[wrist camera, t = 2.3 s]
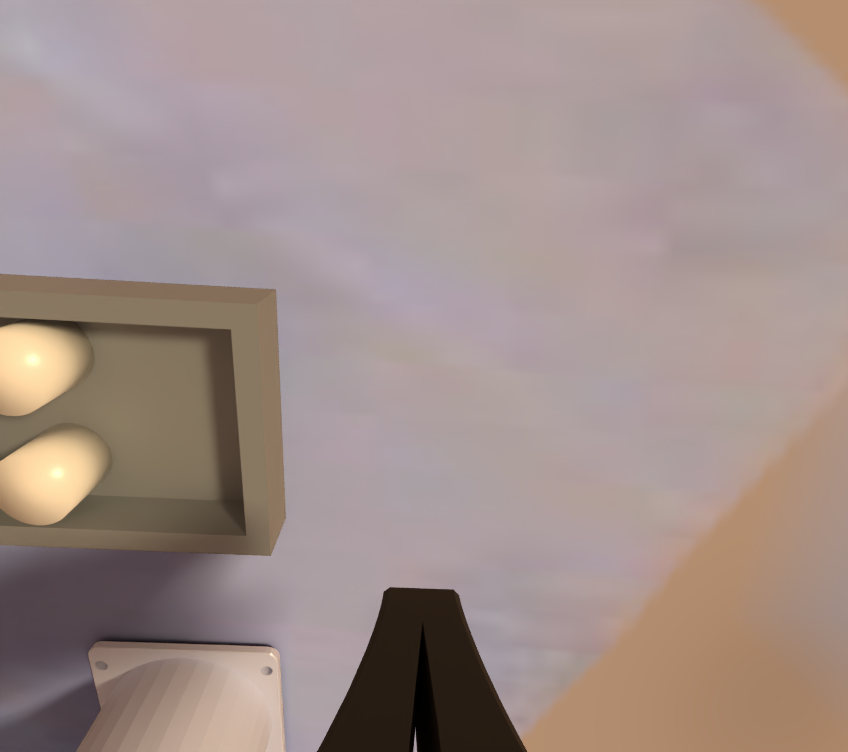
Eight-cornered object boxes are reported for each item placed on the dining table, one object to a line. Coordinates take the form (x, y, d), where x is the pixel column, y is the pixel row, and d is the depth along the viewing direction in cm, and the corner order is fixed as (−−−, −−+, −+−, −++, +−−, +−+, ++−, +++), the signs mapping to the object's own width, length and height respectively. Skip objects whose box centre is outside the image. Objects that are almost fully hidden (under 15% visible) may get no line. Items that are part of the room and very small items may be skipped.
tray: (288, 511, 21) (267, 563, 18) (6, 499, 20) (-60, 550, 18) (279, 287, 18) (252, 307, 15) (-55, 268, 17) (-148, 285, 14)
